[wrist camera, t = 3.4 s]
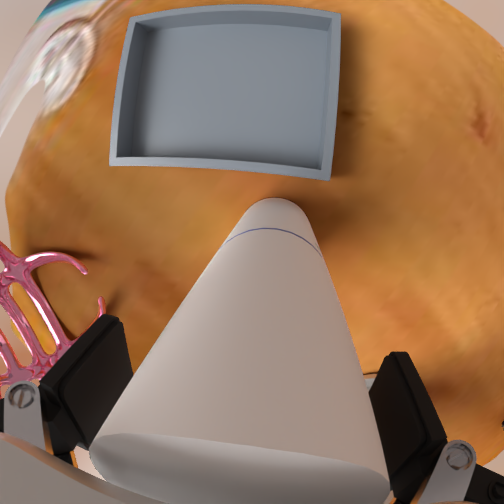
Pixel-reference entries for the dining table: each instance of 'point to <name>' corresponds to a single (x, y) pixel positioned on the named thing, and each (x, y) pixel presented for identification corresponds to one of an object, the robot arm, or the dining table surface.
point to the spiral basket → (21, 273)
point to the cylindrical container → (251, 384)
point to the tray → (229, 90)
